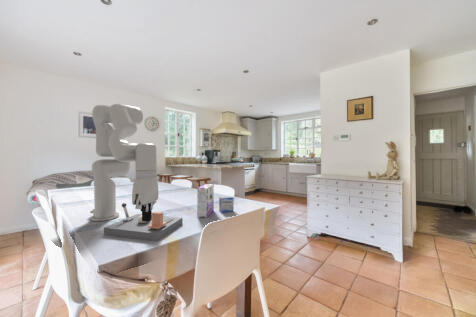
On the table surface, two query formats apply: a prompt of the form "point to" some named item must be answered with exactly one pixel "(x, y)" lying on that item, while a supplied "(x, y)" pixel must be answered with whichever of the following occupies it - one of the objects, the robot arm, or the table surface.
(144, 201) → the robot arm
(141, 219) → the push button
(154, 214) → the block
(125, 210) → the toggle lever
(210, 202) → the candy box
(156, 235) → the control board
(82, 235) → the table surface
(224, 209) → the medicine box
